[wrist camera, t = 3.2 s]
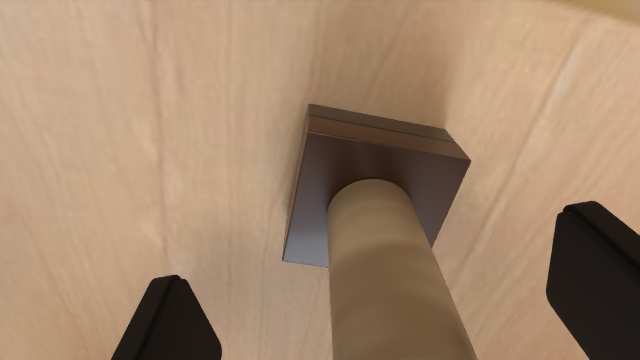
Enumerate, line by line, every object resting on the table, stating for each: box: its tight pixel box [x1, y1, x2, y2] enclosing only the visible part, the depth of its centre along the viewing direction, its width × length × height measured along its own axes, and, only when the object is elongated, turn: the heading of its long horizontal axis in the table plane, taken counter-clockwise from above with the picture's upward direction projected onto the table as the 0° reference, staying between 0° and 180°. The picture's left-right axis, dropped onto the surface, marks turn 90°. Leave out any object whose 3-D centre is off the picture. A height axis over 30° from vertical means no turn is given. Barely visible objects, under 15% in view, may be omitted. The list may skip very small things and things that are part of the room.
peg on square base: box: [282, 104, 478, 360], centre depth 10 cm, size 5×5×8 cm
